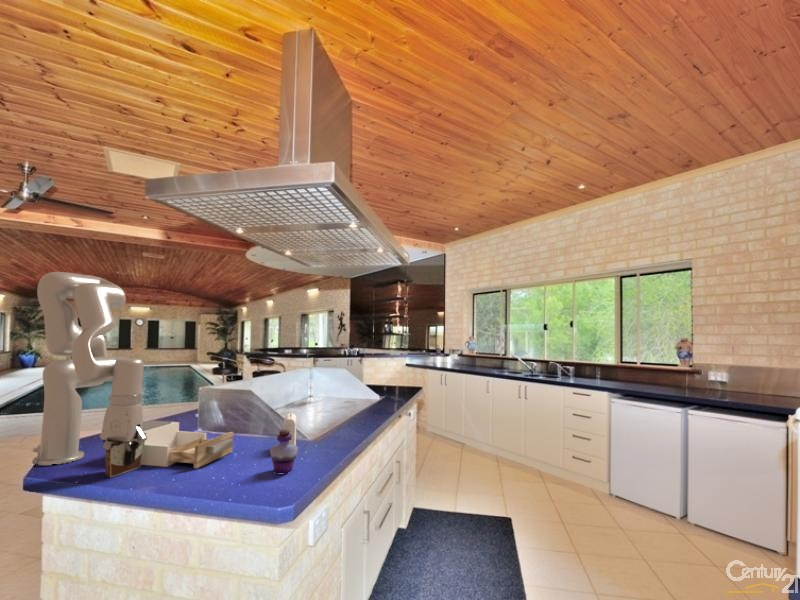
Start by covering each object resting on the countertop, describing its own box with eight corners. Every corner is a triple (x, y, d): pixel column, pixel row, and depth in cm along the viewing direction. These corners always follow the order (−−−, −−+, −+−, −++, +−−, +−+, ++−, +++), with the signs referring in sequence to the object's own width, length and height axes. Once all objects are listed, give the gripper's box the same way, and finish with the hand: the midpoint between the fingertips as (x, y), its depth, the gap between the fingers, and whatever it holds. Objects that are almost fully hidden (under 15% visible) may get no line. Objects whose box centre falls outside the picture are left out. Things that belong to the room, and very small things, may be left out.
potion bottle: (288, 465, 130) (289, 426, 131) (303, 471, 124) (304, 431, 125) (262, 471, 124) (264, 430, 125) (277, 478, 118) (279, 435, 119)
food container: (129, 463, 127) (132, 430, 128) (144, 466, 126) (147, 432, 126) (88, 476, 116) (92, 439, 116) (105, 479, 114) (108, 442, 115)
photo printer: (294, 452, 143) (296, 416, 144) (281, 453, 142) (283, 416, 143) (296, 444, 153) (297, 411, 154) (284, 445, 152) (285, 411, 153)
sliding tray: (239, 452, 141) (240, 432, 142) (204, 469, 123) (205, 446, 124) (201, 449, 144) (203, 429, 145) (162, 465, 126) (163, 443, 127)
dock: (205, 450, 144) (207, 422, 145) (166, 466, 126) (168, 434, 127) (150, 446, 148) (152, 418, 149) (105, 461, 130) (107, 430, 131)
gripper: (89, 400, 120) (84, 464, 119) (140, 404, 117) (135, 470, 115) (112, 396, 127) (107, 456, 126) (160, 400, 124) (155, 462, 123)
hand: (120, 462), depth 121 cm, fingers closed on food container, 5 cm apart
